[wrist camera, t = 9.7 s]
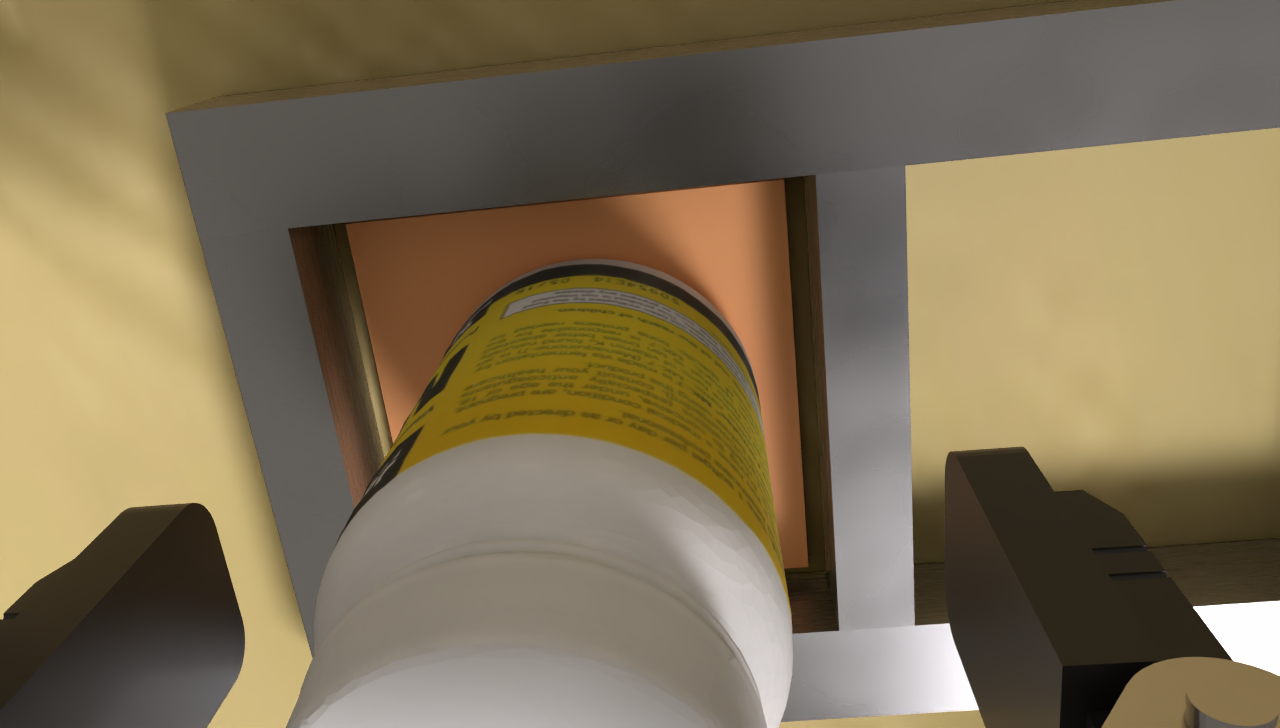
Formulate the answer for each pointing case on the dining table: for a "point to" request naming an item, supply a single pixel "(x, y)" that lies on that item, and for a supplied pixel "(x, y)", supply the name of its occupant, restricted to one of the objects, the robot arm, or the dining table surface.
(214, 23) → the dining table surface
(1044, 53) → the grey flat rectangular frame
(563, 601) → the supplement bottle
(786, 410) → the marked hole pad
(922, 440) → the dining table surface
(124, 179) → the dining table surface
